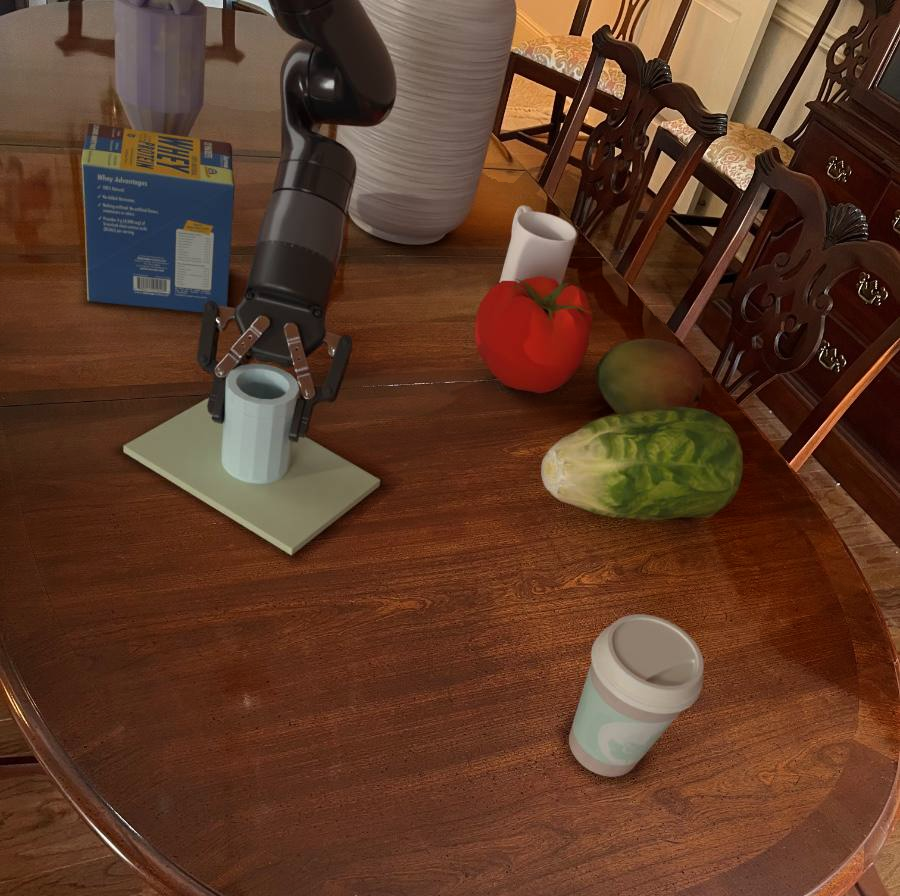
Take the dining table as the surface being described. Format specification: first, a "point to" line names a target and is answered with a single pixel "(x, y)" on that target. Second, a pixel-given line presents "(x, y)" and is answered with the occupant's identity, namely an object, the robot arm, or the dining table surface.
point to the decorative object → (160, 63)
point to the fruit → (648, 376)
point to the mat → (253, 505)
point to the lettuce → (647, 465)
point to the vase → (430, 116)
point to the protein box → (157, 218)
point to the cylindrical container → (258, 422)
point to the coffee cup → (633, 691)
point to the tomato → (533, 332)
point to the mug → (538, 246)
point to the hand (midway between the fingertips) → (255, 430)
